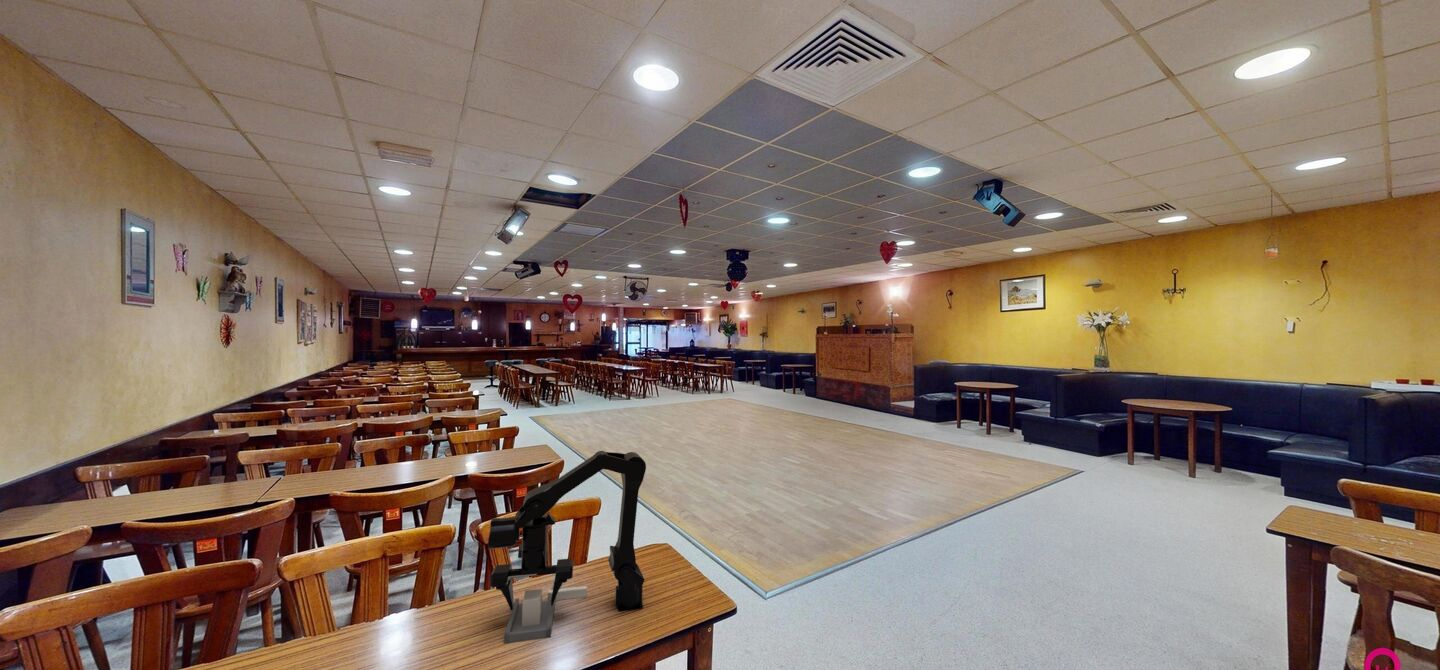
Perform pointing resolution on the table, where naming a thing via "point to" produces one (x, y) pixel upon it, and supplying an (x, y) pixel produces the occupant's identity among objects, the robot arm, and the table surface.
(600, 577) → the table surface
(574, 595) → the gate
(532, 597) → the block
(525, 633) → the grey base plate
